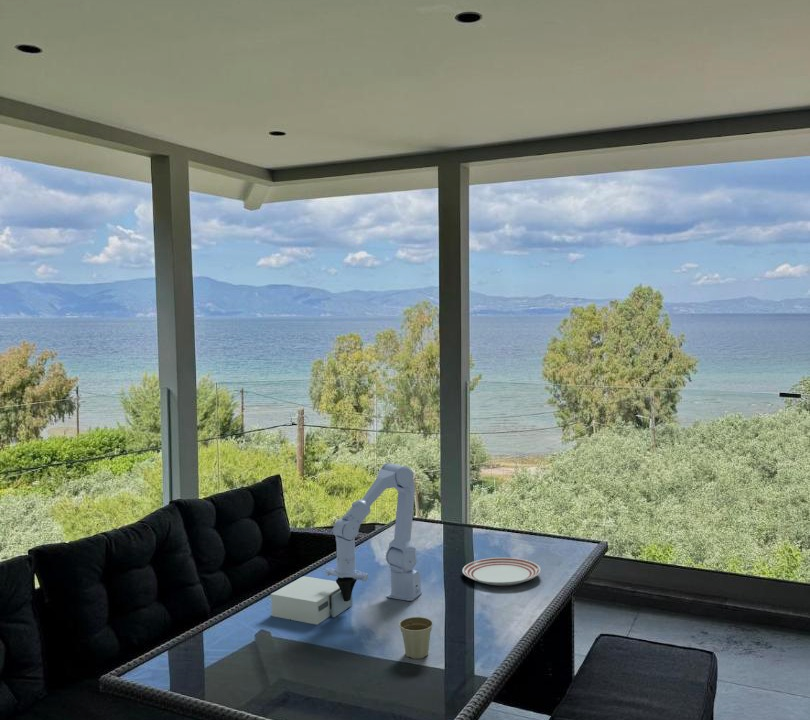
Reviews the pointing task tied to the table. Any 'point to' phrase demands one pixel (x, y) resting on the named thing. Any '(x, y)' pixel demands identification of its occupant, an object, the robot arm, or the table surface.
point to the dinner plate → (501, 571)
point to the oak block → (331, 600)
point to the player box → (304, 600)
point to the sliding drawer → (339, 604)
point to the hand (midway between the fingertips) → (347, 600)
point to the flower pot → (416, 636)
